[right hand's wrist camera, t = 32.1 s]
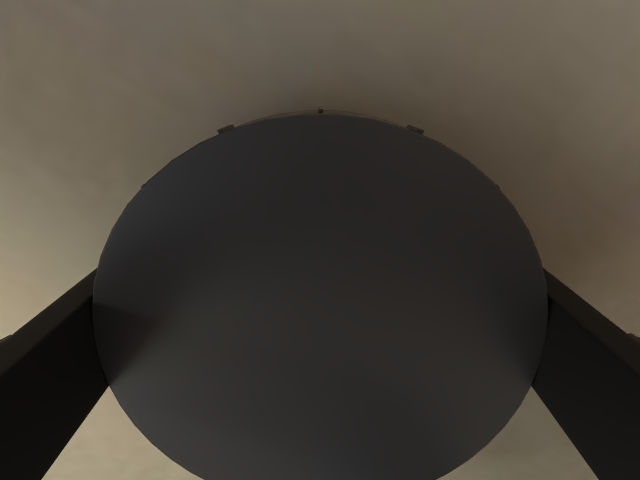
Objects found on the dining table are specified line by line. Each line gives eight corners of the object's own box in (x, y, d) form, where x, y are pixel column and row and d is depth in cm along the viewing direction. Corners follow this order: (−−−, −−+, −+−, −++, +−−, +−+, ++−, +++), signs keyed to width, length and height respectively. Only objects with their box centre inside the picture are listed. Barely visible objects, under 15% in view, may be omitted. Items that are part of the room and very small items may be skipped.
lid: (40, 262, 11) (-10, 292, 10) (389, 8, 9) (405, -12, 8) (276, 502, 15) (270, 556, 13) (575, 357, 13) (615, 399, 11)
